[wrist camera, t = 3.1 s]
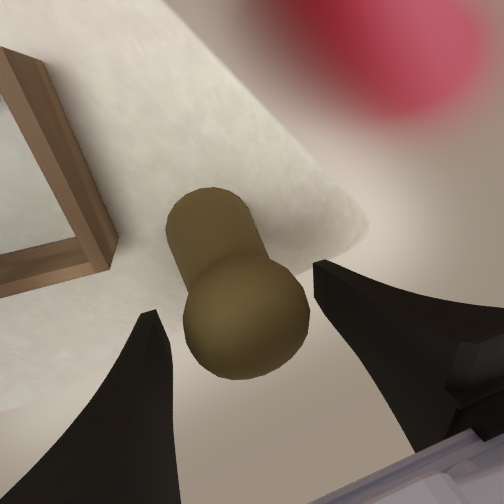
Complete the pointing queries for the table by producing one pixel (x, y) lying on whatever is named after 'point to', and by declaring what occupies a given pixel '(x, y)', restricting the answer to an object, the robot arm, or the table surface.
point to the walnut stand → (53, 184)
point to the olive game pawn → (233, 288)
